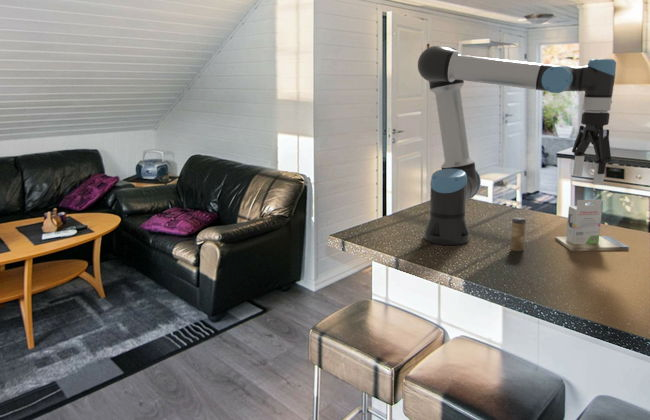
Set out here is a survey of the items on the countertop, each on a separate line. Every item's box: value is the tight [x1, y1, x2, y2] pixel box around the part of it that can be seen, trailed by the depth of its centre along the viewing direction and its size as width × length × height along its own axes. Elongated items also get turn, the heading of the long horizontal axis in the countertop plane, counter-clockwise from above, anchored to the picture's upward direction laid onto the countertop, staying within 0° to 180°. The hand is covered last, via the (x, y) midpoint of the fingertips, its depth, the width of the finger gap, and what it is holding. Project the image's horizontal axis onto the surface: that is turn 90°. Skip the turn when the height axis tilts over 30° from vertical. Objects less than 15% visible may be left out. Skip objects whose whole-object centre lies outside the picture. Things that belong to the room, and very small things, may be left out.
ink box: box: [565, 198, 603, 244], centre depth 166 cm, size 9×5×15 cm, turn 91°
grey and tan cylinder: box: [509, 217, 527, 252], centre depth 165 cm, size 4×4×10 cm
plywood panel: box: [554, 235, 630, 252], centre depth 168 cm, size 18×12×1 cm, turn 89°
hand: (587, 179), depth 163 cm, fingers open, 13 cm apart
